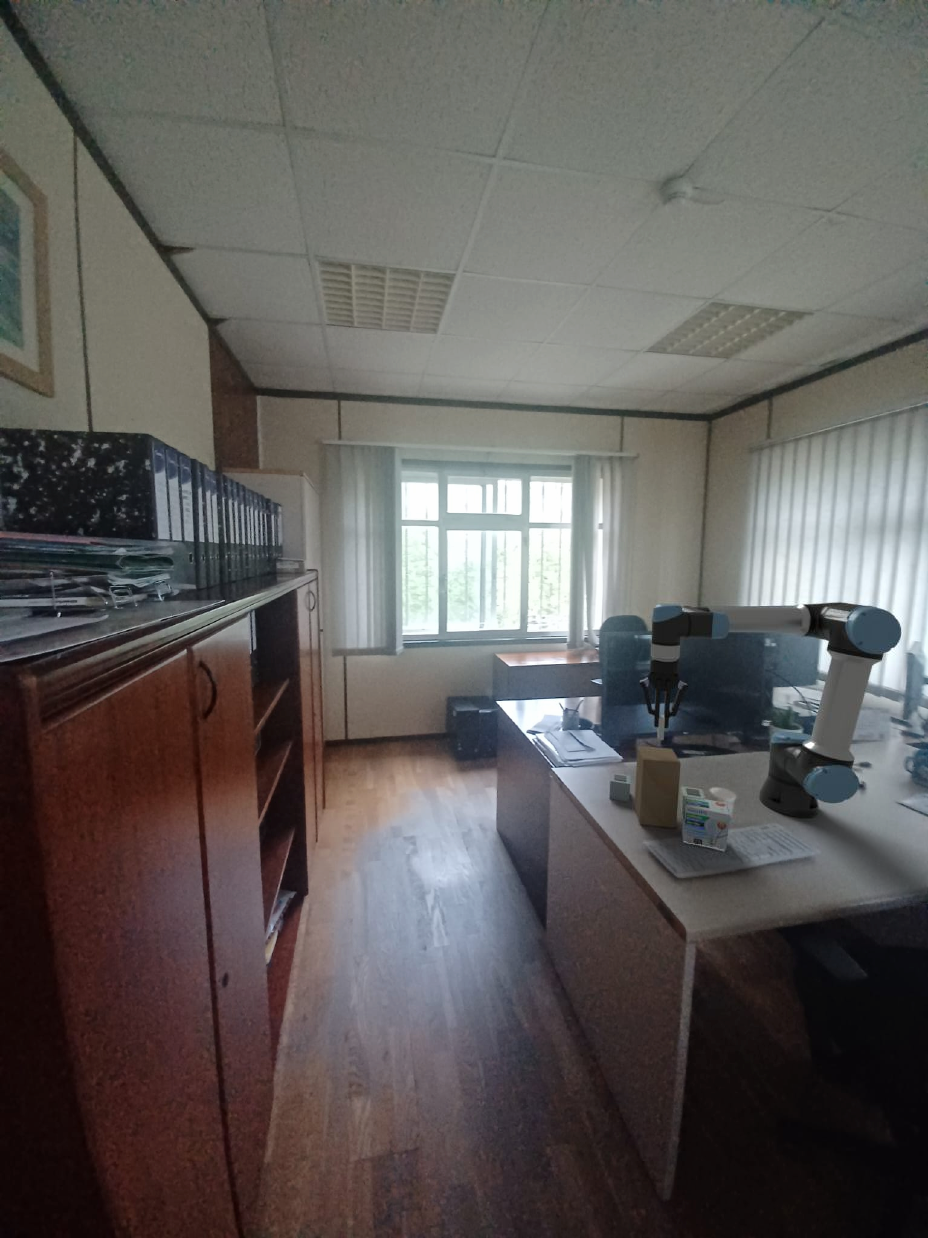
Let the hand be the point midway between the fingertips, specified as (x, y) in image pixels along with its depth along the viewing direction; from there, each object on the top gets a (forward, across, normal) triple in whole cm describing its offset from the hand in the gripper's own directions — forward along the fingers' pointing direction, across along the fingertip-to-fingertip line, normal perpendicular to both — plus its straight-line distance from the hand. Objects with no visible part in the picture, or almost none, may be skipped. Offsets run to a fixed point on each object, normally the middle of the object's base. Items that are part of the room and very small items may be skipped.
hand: (660, 738), depth 134 cm
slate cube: (+25, +10, -10) cm, 29 cm away
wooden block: (+25, 0, 0) cm, 25 cm away
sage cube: (+25, -10, -8) cm, 28 cm away
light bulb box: (+25, -12, +8) cm, 29 cm away
